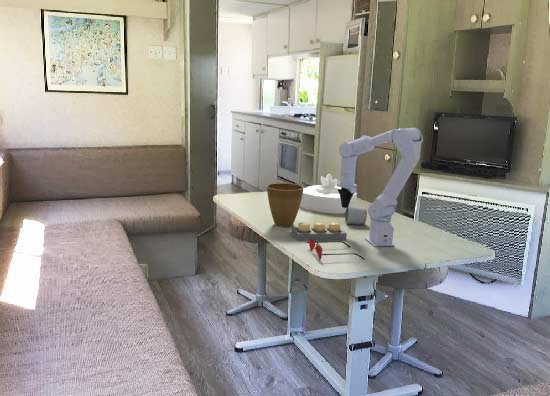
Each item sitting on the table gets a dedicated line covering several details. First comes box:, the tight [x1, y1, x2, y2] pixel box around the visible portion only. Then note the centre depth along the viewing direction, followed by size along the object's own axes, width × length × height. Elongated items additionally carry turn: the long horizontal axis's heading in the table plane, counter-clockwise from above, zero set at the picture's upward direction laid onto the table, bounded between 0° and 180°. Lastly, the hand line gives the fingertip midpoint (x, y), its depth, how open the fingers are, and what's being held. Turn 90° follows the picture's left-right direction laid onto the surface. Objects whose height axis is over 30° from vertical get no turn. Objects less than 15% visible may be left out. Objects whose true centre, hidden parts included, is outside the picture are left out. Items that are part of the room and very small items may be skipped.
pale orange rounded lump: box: [297, 222, 311, 232], centre depth 191 cm, size 4×4×3 cm
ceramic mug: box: [344, 206, 368, 225], centre depth 214 cm, size 11×8×8 cm
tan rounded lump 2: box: [328, 221, 341, 232], centre depth 193 cm, size 4×4×3 cm
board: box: [289, 226, 348, 241], centre depth 194 cm, size 13×19×2 cm
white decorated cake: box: [299, 173, 358, 214], centre depth 242 cm, size 25×25×16 cm
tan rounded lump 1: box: [312, 221, 326, 232], centre depth 192 cm, size 4×4×3 cm
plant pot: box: [266, 182, 305, 228], centre depth 205 cm, size 15×15×16 cm
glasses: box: [306, 237, 366, 261], centre depth 173 cm, size 14×16×5 cm
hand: (344, 207), depth 199 cm, fingers closed
